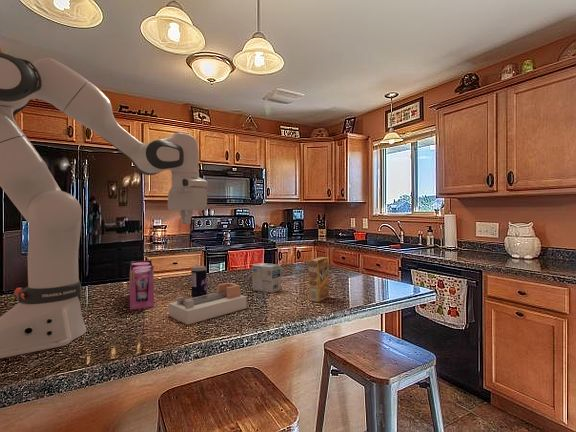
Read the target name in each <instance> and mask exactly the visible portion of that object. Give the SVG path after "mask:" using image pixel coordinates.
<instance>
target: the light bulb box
mask: <svg viewBox="0 0 576 432" xmlns="http://www.w3.org/2000/svg"><path fill="white" fill-rule="evenodd" d="M251 265H252V267H251V268H252V269H251V270H252V271H251V274H252V276H251V277H252V291H259V292H263V293H264V292H266V293H272V294H273V293H276V292H278V291H281V290H282V265H281V264H274V263H264V262H259V263H254V264H251Z"/></svg>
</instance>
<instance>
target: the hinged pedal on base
mask: <svg viewBox="0 0 576 432" xmlns="http://www.w3.org/2000/svg"><path fill="white" fill-rule="evenodd" d="M223 291H226V296H227V297H223V298H219V299H215V300H211V301H207V302H203V303H199V304H195V305H194V300H188V299H192V298H193V297H192V298H191V297H190V298H188V299H187V298H186V299H185V296H177V297H176V301H172V302H169V303H168V316H169V317H171V318H173V319H175V320H177V321H179V322H182V323H183V324H186V325H191V324H195V323H198V322H199V323H200V322H202V321H207V320H209V319H212V318H217V317H220V316H223V315H228V314H230V313H234V312H235V313H236V312H238V311H241V310H244V309H247V296H246V295H242V294H241V284H240V285H239V284H236V283H233V282H223V283H220V284H216V293H218V292H223ZM214 293H215V292H214ZM214 293H212V294H214ZM210 294H211V293H210ZM210 294H208V295H210ZM204 296H205V295H204ZM200 297H201V296H200ZM195 298H197V297H195ZM184 300H188V301H186V305H183V304H181V301H184Z"/></svg>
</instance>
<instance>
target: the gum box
mask: <svg viewBox="0 0 576 432" xmlns="http://www.w3.org/2000/svg"><path fill="white" fill-rule="evenodd" d="M152 261H153V260H152V259H151V260H150V259H149V260H137V261H136V260H135V261H133V260H132V261H131V262H130V269H129V310H138V309H148V308H154V307H155V288H154V287H155V285H154V284H155V283H154V282H155V280H154V279H155V278H154V277H155V273H154V266H153V263H152Z"/></svg>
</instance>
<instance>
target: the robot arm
mask: <svg viewBox="0 0 576 432" xmlns="http://www.w3.org/2000/svg"><path fill="white" fill-rule="evenodd" d="M31 99H32V100H36V99H37V100H41V101H44V102H46V103H48V104H51V105H52V106H54V108H56V109H58V110H59V111H60V112H62V113H63V114H65V115H67V117H69V118H71V119H72V120H74V121H76V122H77V123H79V124H80V125H82V126H83V127H86V128H87V129H89V130H91V131H92V132H94V133H95V134H96V135H98V136H99V137H101V138H102V139H103V140H104V141H106V142H107V143H109V144H110V145H111V146H113V147H114V148H115V149H117V150H118V151H120V153H122V154H123V155H124V156H125V157H127V158H128V159H129V160H130V162H131V163H132V165H133V167H134V168H135V169H136V170H137V171H138V172H139V173H141V174H143V175H144V176H145V175H146V176H155V175H157V174H159V173H162V172H165V171H170V172H171V187H170V189H169V190H168V194H167V208H168V211H179V216H180V219H181V224H182V225H191V224H192V223H191V222H192V218H193V217H192V216H193V215H194V212H193V211H205V210H206V208H207V205H208V193H207V192H208V191H207V187H208V181H207V180H206V179H203V178H201V177H200V172H199V163H200V152H199V145H198V142H197V141H198V140H197V139H196V138H195V137H194V136H193V135H191V134H189V133H185V132H175V133H173V134H172V135H169V136H167V137H165V138H161V139H156V140H155V139H154V140H152V141H150V142H148V143H145V142H141V141H140V140H138V139H137V138H136V137H134V136H133V135H132V134H130V133H129V132H128V131H127V130H126V129H124V128H123V127H122V126H121V125H120V124H119V123H118V122H117V119H116V118H115V116H114V114H113V113H114V112H113V106H112V104H111V100H110V99H109V98H108V96H106V95H105V93H104V92H102V90H101V89H100V88H98V87H97V85H95V84H93V83H92V82H91V81H89V80H88V79H87V78H85V77H84V76H83V75H81V74H79V72H77V71H75V70H73V69H71V67H69V66H67V65H65V64H63V63H62V62H60V61H58V60H56V59H55V58H51V57H42V58H39V59H37V60H35V61H34V62H33V63H32V62H31V61H30V60H27V59H24V58H21V57H20V58H19V57H15V56H13V55H9V54H7V53H3V52H0V188H1V189H2V190H3V191H4V193H5V194H6V195H7V197H8V198H9V200H10V201H11V202H12V203H13V205H14V206H15V207H16V208H17V210H18V211H19V213H20V214H21V215H22V216H23V218H24V219H25V220H26V222H27V223H28V240H27V241H28V242H27V243H28V244H27V284H28V285H27V286H26V287H24V288H23V287H16V288H15V290H13V294H14V295H15V296H16V297H17V300H18V303H17V304H16V305H14V306H13V307H11V308H9V310H8V311H6V312H5V313H4V314H2V315H1V316H0V359H5V358H10V357H14V356H20V355H25V354H29V353H35V352H38V351H43V350H45V351H46V350H49V349H54V348H60V347H65V346H67V345H68V344H71V342H72V341H73V340H76V339H77V338H79V337H81V336H83V335H84V334H85V333H86V332H87V327H86V324H85V322H84V318H83V313H82V309H81V301H82V285H81V281H80V279H79V275H80V274H79V249H80V238H81V229H82V228H81V227H82V214H83V213H82V212H83V210H82V209H83V208H82V206H81V204H80V202H79V201H78V199H77V198H76V197H74V196H73V195H72V194H71V193H68V192H66V191H63V190H62V188H60V186H59V185H58V183H57V181H56V180H55V177H54V176H53V174H52V172H51V171H50V170H49V168H48V165H47V163H46V162H45V161H44V159H43V157H42V156H41V155H40V153H39V152H38V151H37V150H36V148H35V146H34V145H33V144H32V142H31V141H30V139H28V137H27V135H25V133H24V132H23V131H22V129H21V128H20V127H19V125H18V124H17V121H16V120H15V117H14V116H15V115H17V114H19V112H21V111H23V110H24V108H26V107H27V106H28V104H29V103H30V101H31Z"/></svg>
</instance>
